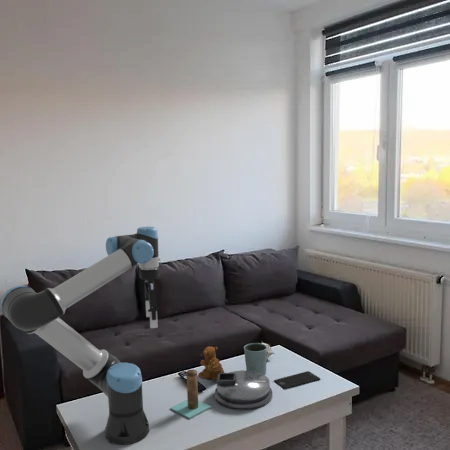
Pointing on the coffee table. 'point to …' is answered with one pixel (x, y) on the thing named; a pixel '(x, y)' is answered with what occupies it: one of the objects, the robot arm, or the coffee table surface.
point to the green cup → (256, 357)
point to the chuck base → (243, 406)
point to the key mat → (190, 413)
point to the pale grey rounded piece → (268, 350)
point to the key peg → (192, 389)
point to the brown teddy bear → (210, 364)
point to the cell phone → (297, 380)
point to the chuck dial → (243, 387)
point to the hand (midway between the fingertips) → (151, 322)
